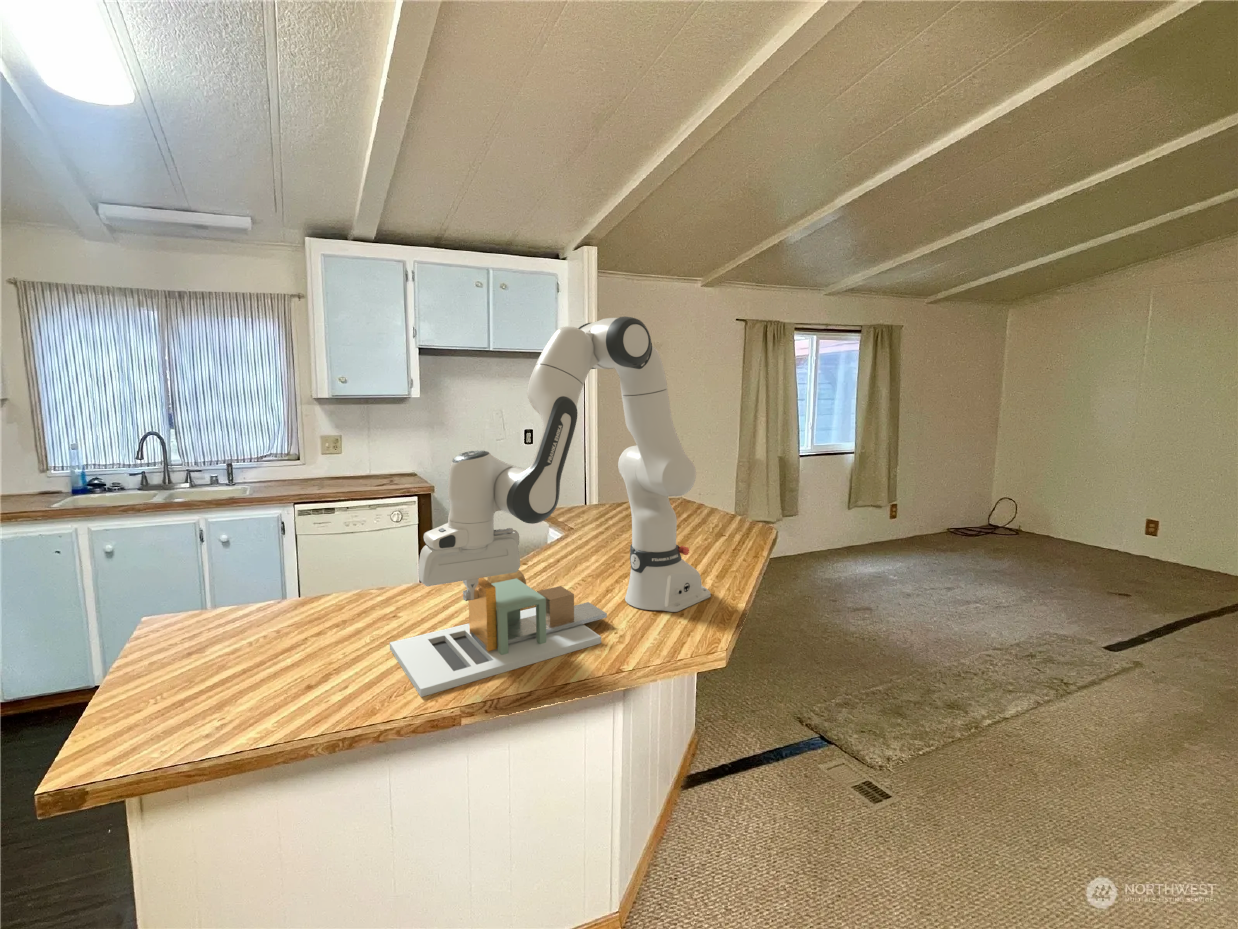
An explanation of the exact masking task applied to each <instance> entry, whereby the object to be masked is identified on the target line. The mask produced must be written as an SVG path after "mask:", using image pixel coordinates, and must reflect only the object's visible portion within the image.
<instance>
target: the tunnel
mask: <svg viewBox="0 0 1238 929" xmlns="http://www.w3.org/2000/svg"><path fill="white" fill-rule="evenodd" d="M492 585H493V586H495V588H496V623H497V625H498V652H499V653H500V654H501V655H503V654H507V653H508V622H511V621H515V620H519V619H520V611H521V609H524V608H531V607H536V639H537V642H538V643H539V644H543V643H546V598H545V597H543V596H542V595H540V594H539V593H538V592H537V591H536V590H534V588H531V587H530V586H529V585H528V584H527V583H526V584H524V583H523V582H521V581H520V580H518V579H517V578H516V579H511V580H506V581H502V582H497V583H492Z"/></svg>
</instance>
